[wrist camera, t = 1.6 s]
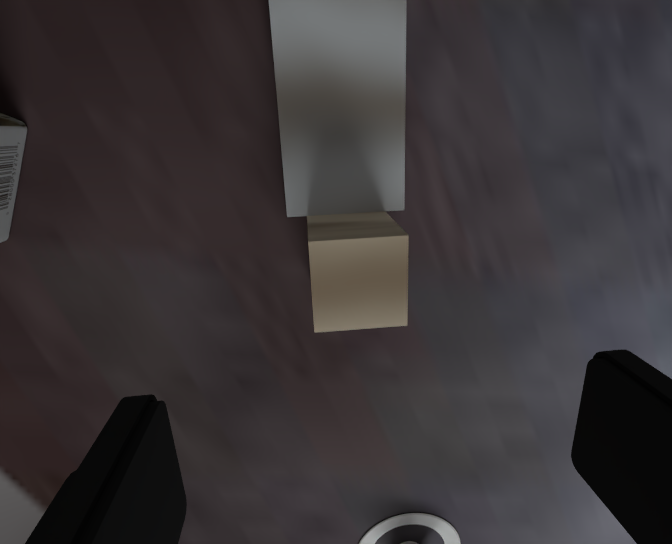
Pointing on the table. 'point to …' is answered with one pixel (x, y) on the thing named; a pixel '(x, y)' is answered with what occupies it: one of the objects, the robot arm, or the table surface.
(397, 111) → the scraper
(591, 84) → the table surface
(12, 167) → the coffee box
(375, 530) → the teacup and saucer
